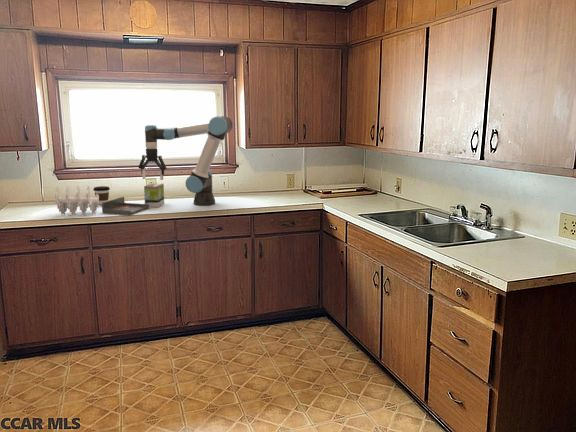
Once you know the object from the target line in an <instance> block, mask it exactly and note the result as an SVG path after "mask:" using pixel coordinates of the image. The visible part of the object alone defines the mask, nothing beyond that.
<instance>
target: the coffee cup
mask: <svg viewBox="0 0 576 432" xmlns="http://www.w3.org/2000/svg"><path fill="white" fill-rule="evenodd" d="M92 191H94V195H95V196H94V197H96V194H98V195H99V204H98V206H102V202H106V201H109V195H110V186H106V185H101V186H94V187H93V190H92Z"/></svg>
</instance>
